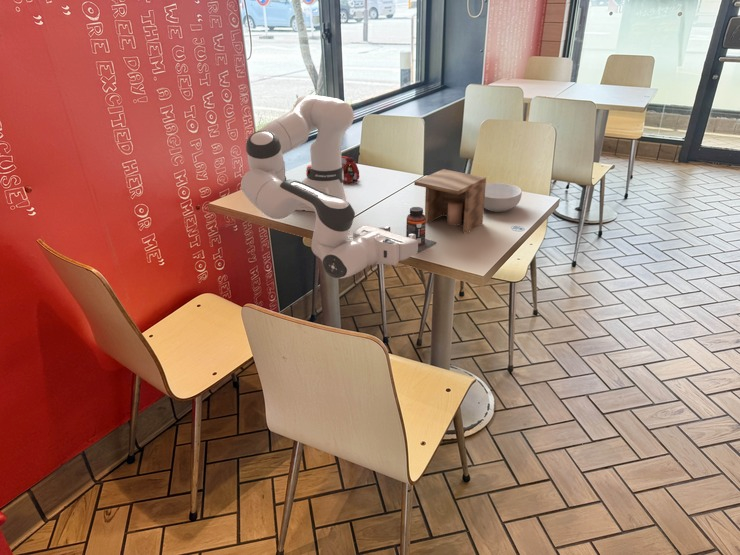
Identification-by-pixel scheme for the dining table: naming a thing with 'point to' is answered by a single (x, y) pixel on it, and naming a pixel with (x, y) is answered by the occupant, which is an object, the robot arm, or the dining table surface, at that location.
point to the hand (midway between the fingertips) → (401, 232)
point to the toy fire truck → (349, 169)
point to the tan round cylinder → (455, 212)
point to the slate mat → (425, 245)
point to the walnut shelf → (454, 196)
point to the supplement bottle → (416, 224)
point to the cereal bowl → (501, 196)
